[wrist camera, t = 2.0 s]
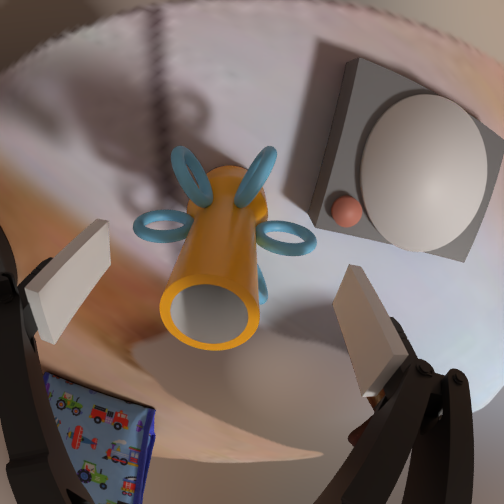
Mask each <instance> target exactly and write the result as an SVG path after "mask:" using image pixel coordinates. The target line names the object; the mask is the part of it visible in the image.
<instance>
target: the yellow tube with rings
mask: <svg viewBox="0 0 504 504" xmlns="http://www.w3.org/2000/svg"><path fill="white" fill-rule="evenodd" d="M276 157H277V151H276V149H275V148H274V147H272V146H267V147H265V148H264V149H263V150H262V151H261V152H260V153H259V154H258V155H257V157H256V158H255V160H254V161H253V163H252V164H251V166H250V167H249V169H248V170H246V169H244V168H242V167H238V166H221V167H218V168H215V169H213V170H211V171H210V172H208V173H207V174H206V173H205V171H204V169H203V167H202V166H201V164H200V163H199V161H198V160H197V158H196V157H195V156H194V154H193V153H192V152H191V151H190V150H189V149H188V148H186V147H184V146H177V147H175V148H174V149H173V150H172V153H171V163H172V167H173V170H174V173H175V175H176V178H177V180H178V182H179V184H180V185H181V187H182V189H183V190H184V192H185V193H186V195H187V196H188V197H189V198H190V199H189V202H188V205H187V213H184V212H181V211H176V210H155V211H150V212H147V213H144V214H142V215H140V216H139V217H138V218H137V219H136V220H135V221H134V223H133V230H134V232H135V234H136V235H137V236H138V237H140V238H141V239H144V240H146V241H150V242H156V243H170V242H176V241H180V240H183V239H185V238H186V240H185V242H184V245H183V247H182V249H181V251H180V254H179V256H178V259H177V261H176V263H175V266H174V268H173V270H172V273H171V275H170V278H169V280H168V283H167V285H166V288H165V290H164V293H163V295H162V298H161V301H160V315H161V318H162V321H163V323H164V325H165V326H166V328H167V329H168V330H169V331H170V333H171V334H172V335H174V336H175V337H176V338H177V339H179V340H180V341H182V342H184V343H186V344H188V345H190V346H193V347H196V348H199V349H204V350H226V349H230V348H234V347H236V346H239V345H241V344H242V343H244V342H246V341H247V340H248V339H249V338H250V337H251V336H252V335H253V334H254V332H255V331H256V329H257V327H258V324H259V320H260V311H259V304H264V303H265V302H266V301H267V299H268V291H267V287H266V283H265V280H264V277H263V275H262V272H261V270H260V268H259V266H258V264H257V252H256V243H257V244H258V245H259V246H261V247H262V248H264V249H266V250H268V251H270V252H273V253H276V254H280V255H286V256H301V255H305V254H308V253H310V252H312V251H313V250H314V249H315V247H316V245H317V240H316V237H315V235H314V234H313V233H312V232H311V231H310V230H308V229H307V228H305V227H303V226H301V225H298V224H295V223H291V222H286V221H267V219H268V208H267V202H266V197H265V192H264V189H263V185H264V183H265V181H266V180H267V178H268V176H269V174H270V172H271V170H272V168H273V166H274V163H275V161H276ZM186 164H187V166H188V167H189V168H190V170H191V172H192V173H193V175H194V177H195V179H196V181H197V183H198V185H196V183H195V182H194V180H193V178H192V177H191V175H190V173H189V171H188V168H187V166H186ZM163 220H168V221H176V222H179V223H182V224H184V226H182V227H180V228H177V229H172V230H154V229H150V228H147V227H145V225H147V224H149V223H151V222H155V221H163ZM274 231H279V232H287V233H291V234H294V235H296V236H298V237H300V238H302V239H303V240H304V241H305V242H302V243H285V242H280V241H277V240H274V239H272V238H270V237H268V236H267V235H266V234H265V233H268V232H274Z"/></svg>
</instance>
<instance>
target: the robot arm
mask: <svg viewBox="0 0 504 504" xmlns="http://www.w3.org/2000/svg"><path fill="white" fill-rule="evenodd" d="M110 265H111V262H110V241H109V221H107V220H101V219H96V220H95V221H94V222H93V223H92V224H90V225H89V226H88V227H87V228H86V229H85V230H84V231H82V232H81V233H80V234H79V235H78V236H77V237H76V238H75V239H73V240H72V241H71V242H70V243H69V244H68V245H67V246H66V247H65V248H64V249H63V250H62V251H60V252H59V253H58V254H57V255H56V256H55V257H54V258H52V257H50V258H48V259H46V260H44V261H42V262H41V263H40V264H39V265H38V266H37V267H36V269H34V270H33V271H32V272H31V274H29V275H28V276H27V277H26V278H25V279H24V280H23V281H22V282H21V283H20V284H19V285H18V286H17V269H16V264H15V260H14V256H13V253H12V250H11V248H10V245H9V243H8V241H7V239H6V237H5V235H4V233H3V231H2V229H1V228H0V419H1V425H2V429H3V434H4V438H5V442H6V446H7V450H8V454H9V458H10V461H9V463H8V464H6V472H7V476H8V480H9V483H10V486H11V488H12V491H13V494H14V497H15V499H16V501H17V504H95V503H94V501H93V499H92V497H91V496H90V494H89V492H88V491H87V489H86V488H85V487H84V485H83V484H82V482H81V481H80V479H79V477H78V476H77V473H76V471H75V469H74V467H73V465H72V462H71V460H70V458H69V455H68V453H67V451H66V448H65V446H64V443H63V440H62V438H61V435H60V432H59V430H58V427H57V424H56V421H55V418H54V415H53V412H52V408H51V405H50V402H49V398H48V394H47V391H46V387H45V383H44V379H43V375H42V370H41V366H40V361H39V356H38V351H37V345H36V340H35V338H34V334H35V333H36V331H37V330H38V332H39V335H40V337H41V340H44V341H46V342H49V343H51V344H54V345H55V343H56V342H57V340H58V339H59V337H60V336H61V334H62V332H63V331H64V329H65V328H66V326H67V325H68V323H69V322H70V320H71V319H72V317H73V316H74V314H75V313H76V311H77V310H78V309H79V307H80V306H81V304H82V303H83V301H84V300H85V299H86V297H87V296H88V294H89V293H90V292H91V290H92V289H93V287H94V286H95V285H96V283H97V282H98V281H99V279H100V278H101V277H102V275H103V274H104V273H105V271H106V270H107V269H108V268H109V266H110ZM332 305H333V308H334V310H335V313H336V316H337V319H338V322H339V325H340V328H341V331H342V334H343V337H344V340H345V343H346V346H347V350H348V353H349V356H350V359H351V362H352V365H353V369H354V372H355V375H356V378H357V382H358V385H359V389H360V392H361V396H362V397H370V396H377V395H378V394H379V392H380V391H381V390H382V389H384V392H385V396H384V397H383V398H382V399H381V400H380V402H379V403H378V404H377V405H376V406H375V407H374V408H373V409H376V408H377V409H376V411H375V412H374V415H373V416H372V418H371V420H370V421H369V423H368V425H367V427H366V428H365V430H364V432H363V433H362V435H361V437H360V438H359V440H358V442H357V443H356V445H355V446H354V448H353V450H352V451H351V453H350V454H349V456H348V457H347V459H346V461H345V462H344V463H343V465H342V466H341V468H340V469H339V471H338V472H337V473H336V475H335V476H334V478H333V479H332V480H331V482H330V483H329V484H328V486H327V487H326V488H325V490H324V491H323V492H322V494H321V495H320V496H319V497H318V499H317V500H316V501H315V502H314V503H313V504H386V502H387V500H388V498H389V496H390V494H391V492H392V490H393V489H394V487H395V484H396V483H397V481H398V478H399V476H400V474H401V472H402V470H403V468H404V465H405V463H406V461H407V459H408V456H409V454H410V451H411V449H412V453H411V459H410V466H409V471H408V477H407V482H406V487H405V491H404V496H403V500H402V504H471V503H472V491H473V476H474V474H473V473H474V437H473V419H472V407H471V398H470V390H469V383H468V379H467V377H466V376H465V374H464V373H463V372H462V371H460V370H458V369H454V368H453V369H450V370H449V371H448V373H447V374H446V375H441V374H437V373H435V372H434V369H433V367H432V366H431V365H430V364H429V363H428V362H426V361H424V360H422V359H418V358H417V356H416V354H415V352H414V350H413V348H412V346H411V344H410V342H409V340H408V339H407V336H406V334H405V333H404V331H403V329H402V327H401V325H400V324H399V323H398V322H397V321H396V320H395V319H394V318H393V317H389V315H388V314H387V312H386V310H385V308H384V306H383V304H382V302H381V301H380V299H379V297H378V295H377V294H376V292H375V290H374V288H373V286H372V285H371V283H370V281H369V279H368V278H367V276H366V274H365V273H364V271H363V269H362V268H361V267H360V266H355V265H350V264H349V266H348V268H347V271H346V273H345V275H344V278H343V280H342V283H341V285H340V287H339V290H338V292H337V294H336V297H335V299H334V301H333V304H332ZM117 504H129V503H125V502H122V501H119V500H118V501H117Z"/></svg>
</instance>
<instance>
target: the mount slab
mask: <svg viewBox="0 0 504 504" xmlns="http://www.w3.org/2000/svg"><path fill="white" fill-rule="evenodd" d="M503 155H504V140H503V139H502V138H501V137H500V136H498V135H497V134H496V133H495V132H493V131H492V130H491V129H489V128H488V127H487V126H485V125H484V124H483V123H481V122H480V121H478V120H477V119H476V118H474V117H473V116H471V115H470V114H468V113H467V112H466V111H465V110H464V109H463V108H461V107H460V106H459V105H457V104H456V103H455V102H453V101H451V100H449V99H447V98H444V97H441V96H440V95H438V94H436V93H434V92H433V91H431V90H429V89H427V88H425V87H423V86H422V85H420V84H418V83H416V82H414V81H412V80H410V79H408V78H406V77H404V76H402V75H400V74H398V73H396V72H393V71H391V70H389V69H387V68H384V67H382V66H380V65H377V64H375V63H373V62H370V61H368V60H365V59H363V58H360V57H359V58H357V59H354V60H352V61H349V62H347V63H346V68H345V72H344V77H343V81H342V86H341V90H340V94H339V99H338V103H337V107H336V111H335V115H334V119H333V123H332V127H331V131H330V135H329V139H328V143H327V147H326V151H325V155H324V158H323V162H322V166H321V170H320V173H319V177H318V181H317V184H316V188H315V191H314V195H313V199H312V202H311V206H310V209H309V213H308V215H309V217H310V219H311V221H312V223H313V225H314V227H315V228H319V229H324V230H328V231H333V232H338V233H342V234H347V235H352V236H356V237H361V238H365V239H370V240H374V241H379V242H383V243H387V244H392V245H395V246H397V247H399V248H401V249H404V250H407V251H413V252H425V253H429V254H433V255H437V256H441V257H445V258H448V259H452V260H456V261H460V262H465V260H466V257H467V255H468V253H469V251H470V249H471V247H472V244H473V242H474V240H475V237H476V235H477V233H478V230H479V228H480V225H481V223H482V220H483V218H484V215H485V212H486V210H487V207H488V204H489V201H490V199H491V196H492V193H493V190H494V186H495V183H496V180H497V177H498V173H499V170H500V166H501V162H502V159H503Z"/></svg>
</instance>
